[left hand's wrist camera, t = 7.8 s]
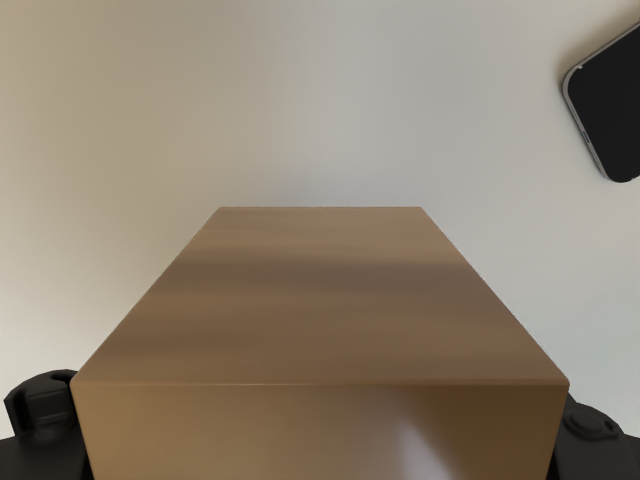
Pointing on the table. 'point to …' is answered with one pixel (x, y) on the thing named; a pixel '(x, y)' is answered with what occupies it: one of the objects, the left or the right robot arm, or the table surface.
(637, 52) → the smartphone
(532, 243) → the table surface
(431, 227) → the box
